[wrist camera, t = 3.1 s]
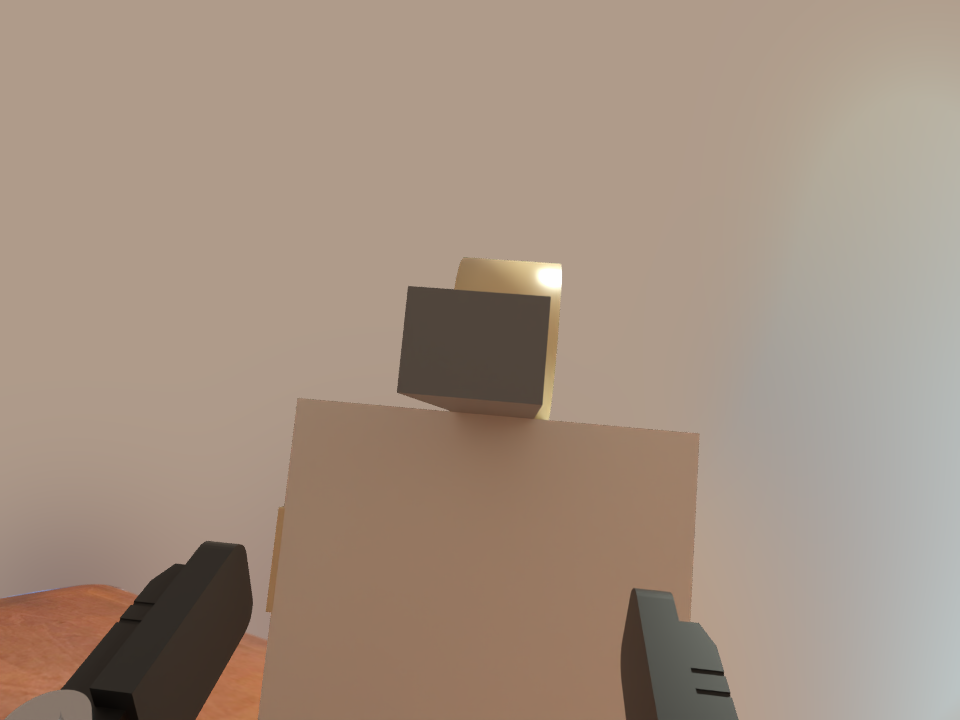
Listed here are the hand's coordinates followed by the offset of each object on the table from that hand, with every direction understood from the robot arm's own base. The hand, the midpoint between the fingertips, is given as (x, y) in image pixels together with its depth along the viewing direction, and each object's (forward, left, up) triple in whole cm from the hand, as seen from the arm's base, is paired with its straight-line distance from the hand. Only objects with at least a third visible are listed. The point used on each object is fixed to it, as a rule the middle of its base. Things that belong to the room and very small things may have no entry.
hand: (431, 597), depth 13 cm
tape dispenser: (-4, +16, +4) cm, 17 cm away
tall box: (-6, +24, -28) cm, 37 cm away
